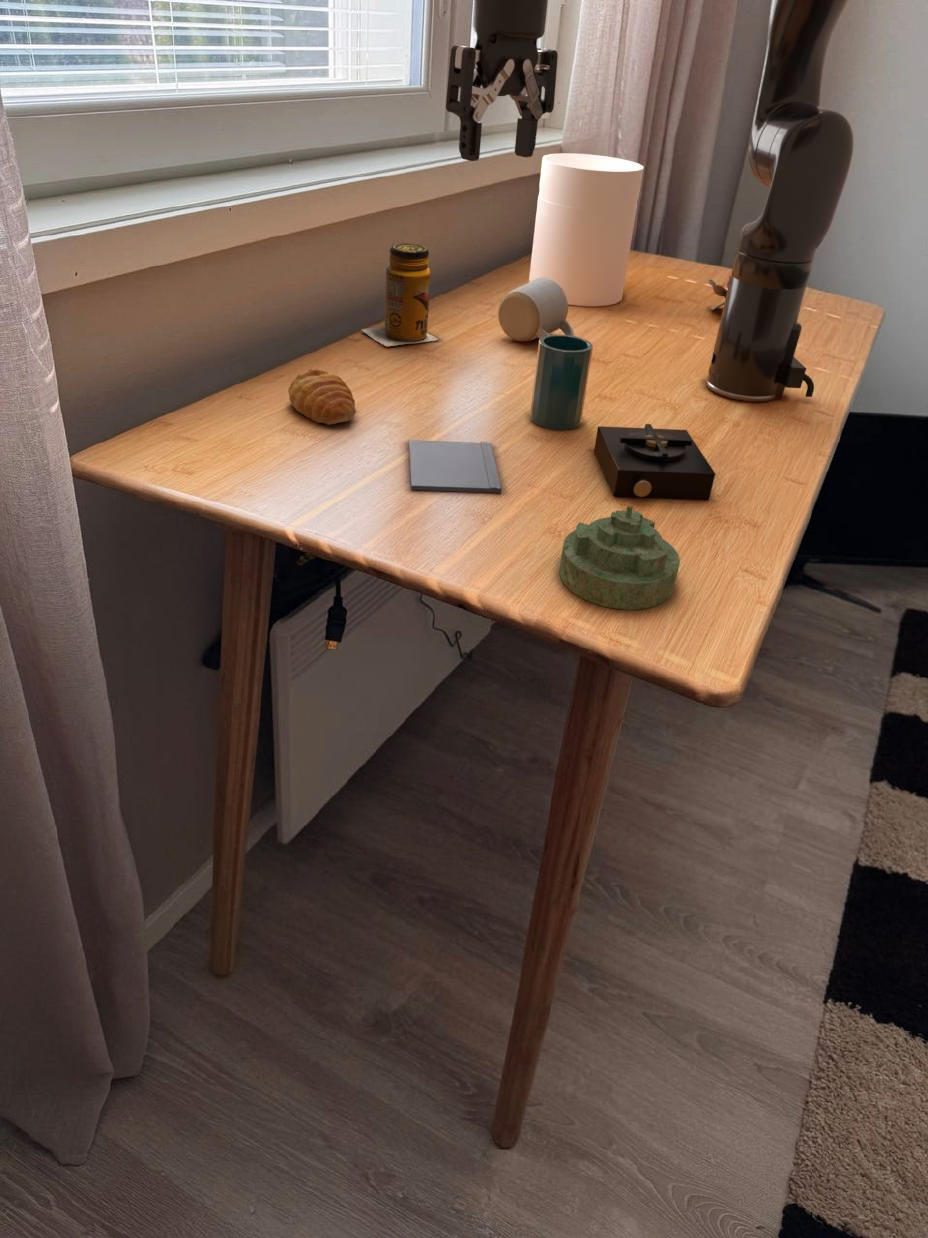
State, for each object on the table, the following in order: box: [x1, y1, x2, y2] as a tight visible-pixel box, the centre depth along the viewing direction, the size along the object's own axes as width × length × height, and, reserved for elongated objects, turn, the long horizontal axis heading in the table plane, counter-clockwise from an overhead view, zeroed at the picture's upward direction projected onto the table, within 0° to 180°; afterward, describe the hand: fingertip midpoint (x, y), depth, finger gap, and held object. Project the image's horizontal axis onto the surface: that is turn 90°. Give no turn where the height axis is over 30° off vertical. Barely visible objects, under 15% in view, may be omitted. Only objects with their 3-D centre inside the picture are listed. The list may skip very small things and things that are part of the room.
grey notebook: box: [408, 439, 502, 494], centre depth 97 cm, size 9×11×1 cm
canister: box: [528, 152, 645, 307], centre depth 151 cm, size 16×16×20 cm
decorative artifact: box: [558, 504, 681, 611], centre depth 79 cm, size 10×7×10 cm
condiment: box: [360, 242, 439, 347], centre depth 127 cm, size 7×8×12 cm
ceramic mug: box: [497, 278, 575, 342], centre depth 132 cm, size 11×8×8 cm
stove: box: [593, 423, 716, 501], centre depth 97 cm, size 10×12×4 cm
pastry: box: [288, 368, 357, 426], centre depth 105 cm, size 9×7×4 cm
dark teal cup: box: [529, 334, 594, 431], centre depth 107 cm, size 6×6×9 cm
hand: (497, 157), depth 102 cm, fingers open, 8 cm apart
